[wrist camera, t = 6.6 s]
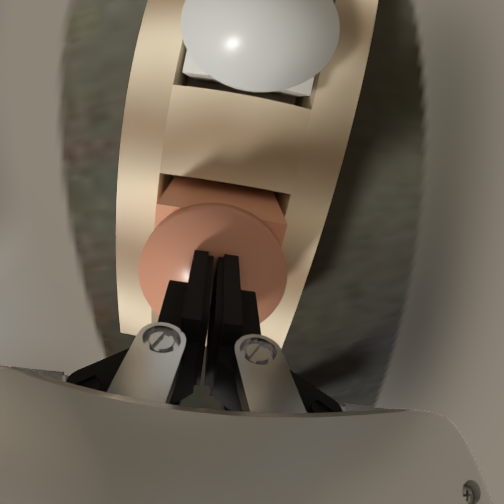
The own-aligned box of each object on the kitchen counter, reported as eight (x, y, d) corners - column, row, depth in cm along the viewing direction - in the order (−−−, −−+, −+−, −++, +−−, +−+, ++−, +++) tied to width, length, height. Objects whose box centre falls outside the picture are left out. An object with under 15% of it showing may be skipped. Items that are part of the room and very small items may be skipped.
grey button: (209, -6, 12) (200, -50, 7) (313, 15, 13) (350, -18, 7) (188, 87, 14) (166, 79, 9) (292, 105, 15) (323, 108, 10)
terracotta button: (171, 164, 15) (141, 199, 10) (280, 182, 16) (304, 224, 11) (161, 261, 18) (139, 326, 12) (257, 274, 18) (267, 343, 13)
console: (192, -51, 11) (182, -90, 6) (350, -19, 12) (385, -46, 8) (138, 286, 21) (120, 332, 17) (270, 305, 23) (279, 353, 18)
